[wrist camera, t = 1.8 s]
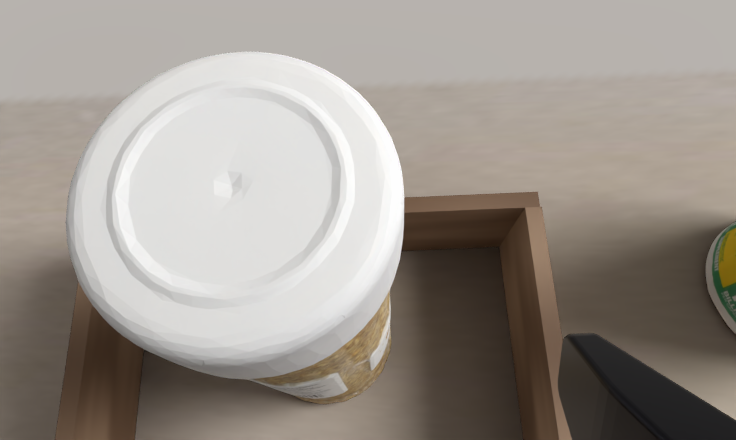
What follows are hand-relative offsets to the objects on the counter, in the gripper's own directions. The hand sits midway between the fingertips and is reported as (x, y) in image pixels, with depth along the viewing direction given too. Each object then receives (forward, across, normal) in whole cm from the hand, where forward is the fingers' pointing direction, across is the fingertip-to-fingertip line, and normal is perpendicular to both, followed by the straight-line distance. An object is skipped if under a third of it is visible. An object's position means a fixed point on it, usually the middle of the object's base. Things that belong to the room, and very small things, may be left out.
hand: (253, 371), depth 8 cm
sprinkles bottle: (+10, 0, +7) cm, 12 cm away
